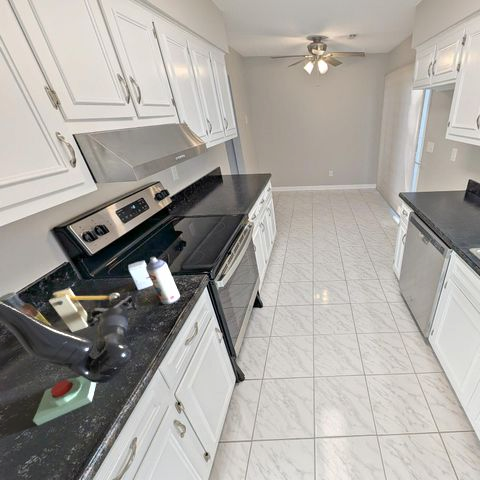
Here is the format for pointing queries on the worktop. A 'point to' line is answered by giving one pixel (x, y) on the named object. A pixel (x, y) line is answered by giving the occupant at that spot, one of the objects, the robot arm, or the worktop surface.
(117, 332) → the robot arm
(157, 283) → the aerosol can
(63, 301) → the lock bracket
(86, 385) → the box
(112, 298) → the lever
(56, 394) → the release button
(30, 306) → the sauce bottle
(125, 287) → the worktop surface
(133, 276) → the cosmetic box
